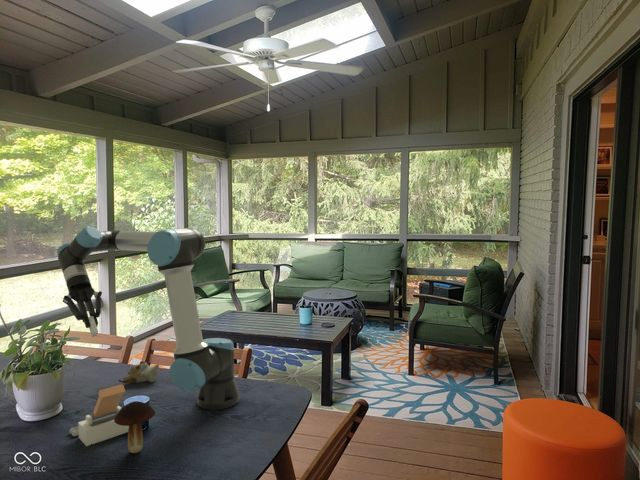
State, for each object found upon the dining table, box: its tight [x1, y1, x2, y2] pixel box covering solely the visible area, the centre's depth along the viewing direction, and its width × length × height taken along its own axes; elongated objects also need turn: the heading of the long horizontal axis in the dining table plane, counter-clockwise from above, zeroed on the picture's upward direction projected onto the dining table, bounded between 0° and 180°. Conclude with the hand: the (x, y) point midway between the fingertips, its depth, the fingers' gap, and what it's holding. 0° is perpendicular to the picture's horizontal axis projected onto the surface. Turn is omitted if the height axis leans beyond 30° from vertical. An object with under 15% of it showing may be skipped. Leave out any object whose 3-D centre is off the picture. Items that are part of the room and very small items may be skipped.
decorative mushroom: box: [114, 400, 156, 454], centre depth 133 cm, size 11×11×15 cm
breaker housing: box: [68, 405, 129, 447], centre depth 145 cm, size 12×15×7 cm
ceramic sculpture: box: [118, 361, 160, 384], centre depth 187 cm, size 11×9×15 cm
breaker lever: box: [90, 384, 127, 420], centre depth 140 cm, size 3×7×14 cm
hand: (95, 334), depth 156 cm, fingers closed
